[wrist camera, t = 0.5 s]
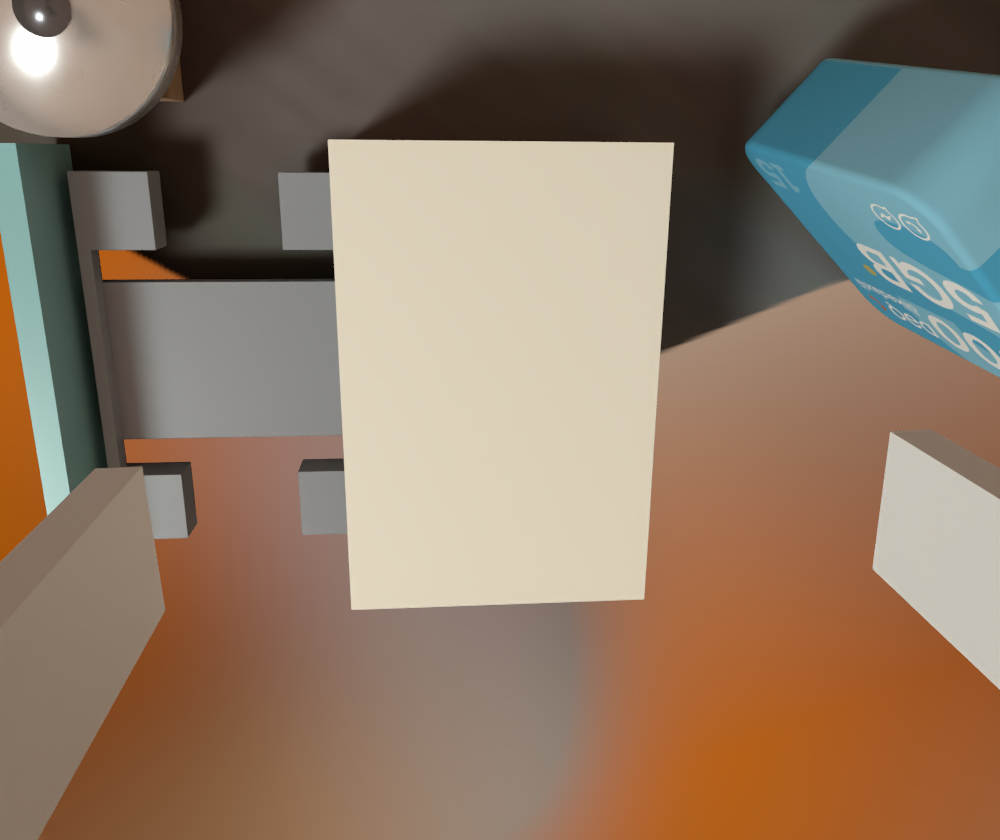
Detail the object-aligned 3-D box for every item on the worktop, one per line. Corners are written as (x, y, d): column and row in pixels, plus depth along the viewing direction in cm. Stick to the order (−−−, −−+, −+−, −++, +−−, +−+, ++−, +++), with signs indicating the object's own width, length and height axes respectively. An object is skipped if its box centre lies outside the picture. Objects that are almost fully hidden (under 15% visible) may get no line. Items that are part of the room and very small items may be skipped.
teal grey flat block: (101, 539, 40) (59, 590, 35) (43, 144, 34) (-15, 143, 30) (373, 532, 41) (367, 580, 36) (358, 146, 36) (348, 146, 31)
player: (363, 532, 41) (351, 609, 34) (346, 141, 36) (327, 139, 29) (607, 525, 42) (643, 599, 35) (626, 144, 37) (674, 142, 30)
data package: (919, 199, 24) (1086, 425, 30) (1042, 74, 24) (1191, 330, 29) (729, 140, 35) (878, 315, 40) (810, 52, 34) (951, 242, 40)
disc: (-84, -124, 28) (-116, -141, 26) (169, -115, 28) (154, -131, 27) (-39, 136, 30) (-66, 136, 28) (194, 139, 31) (181, 138, 29)
